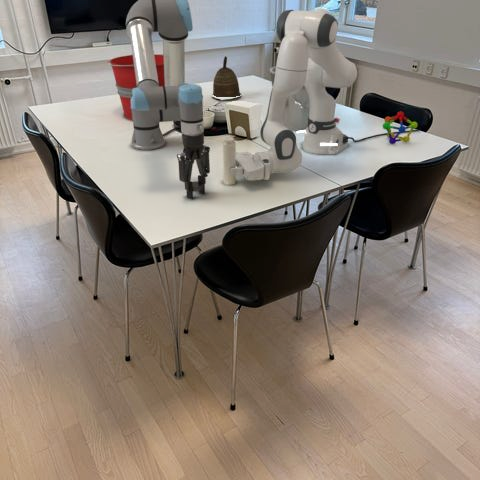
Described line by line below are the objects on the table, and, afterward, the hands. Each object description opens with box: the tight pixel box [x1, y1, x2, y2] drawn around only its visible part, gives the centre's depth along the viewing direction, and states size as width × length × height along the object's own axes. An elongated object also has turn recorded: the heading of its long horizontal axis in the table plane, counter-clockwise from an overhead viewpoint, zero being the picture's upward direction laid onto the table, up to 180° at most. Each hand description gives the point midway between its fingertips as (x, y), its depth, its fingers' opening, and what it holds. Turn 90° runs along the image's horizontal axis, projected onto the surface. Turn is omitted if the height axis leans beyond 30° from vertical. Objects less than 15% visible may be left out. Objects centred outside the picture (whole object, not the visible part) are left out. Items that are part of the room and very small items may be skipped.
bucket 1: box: [106, 54, 165, 121], centre depth 240 cm, size 35×35×30 cm
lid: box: [192, 180, 203, 193], centre depth 160 cm, size 5×5×2 cm
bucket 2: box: [269, 65, 310, 131], centre depth 226 cm, size 30×30×28 cm
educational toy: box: [382, 110, 418, 145], centre depth 207 cm, size 16×13×15 cm
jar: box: [222, 136, 237, 186], centre depth 167 cm, size 5×5×18 cm
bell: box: [212, 56, 242, 97], centre depth 278 cm, size 19×26×20 cm
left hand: (195, 194), depth 162 cm, fingers closed on lid, 5 cm apart
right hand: (227, 167), depth 168 cm, fingers closed on jar, 5 cm apart
